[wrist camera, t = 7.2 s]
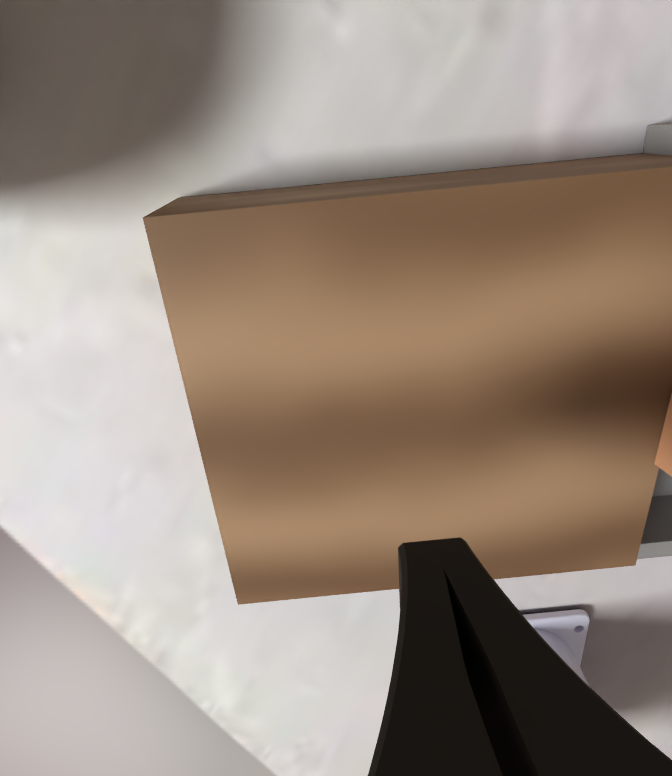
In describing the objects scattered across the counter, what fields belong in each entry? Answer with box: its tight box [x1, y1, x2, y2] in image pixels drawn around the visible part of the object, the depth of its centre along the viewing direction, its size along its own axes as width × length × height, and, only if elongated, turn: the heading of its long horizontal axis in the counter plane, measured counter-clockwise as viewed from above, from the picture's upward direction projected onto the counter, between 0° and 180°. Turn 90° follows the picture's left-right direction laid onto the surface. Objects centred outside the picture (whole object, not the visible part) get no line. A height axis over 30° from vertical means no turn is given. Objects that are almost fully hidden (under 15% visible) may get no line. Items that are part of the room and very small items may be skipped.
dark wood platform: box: [143, 153, 672, 604], centre depth 18 cm, size 14×15×4 cm
